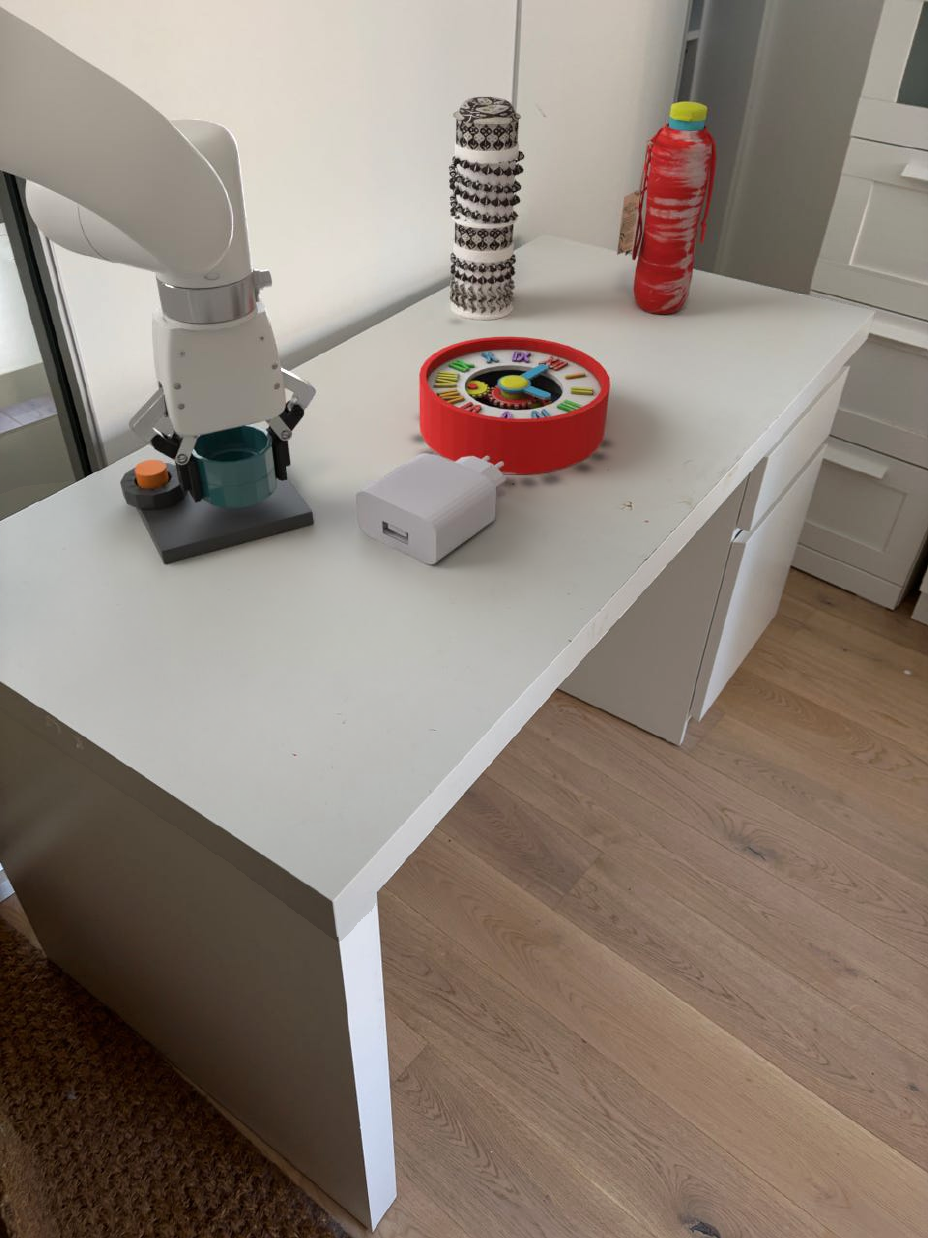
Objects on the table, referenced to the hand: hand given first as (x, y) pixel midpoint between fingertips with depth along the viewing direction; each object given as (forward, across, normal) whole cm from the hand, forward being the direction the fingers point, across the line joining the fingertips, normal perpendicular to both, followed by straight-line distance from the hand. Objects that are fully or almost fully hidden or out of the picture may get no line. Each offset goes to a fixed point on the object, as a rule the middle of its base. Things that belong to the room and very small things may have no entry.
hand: (237, 482), depth 88 cm
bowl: (+1, 0, 0) cm, 1 cm away
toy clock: (+4, -32, -4) cm, 32 cm away
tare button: (+1, +6, -5) cm, 8 cm away
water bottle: (+4, -66, -24) cm, 70 cm away
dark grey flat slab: (+4, +2, -2) cm, 4 cm away
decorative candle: (+4, -44, -34) cm, 56 cm away
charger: (+4, -17, +8) cm, 20 cm away
